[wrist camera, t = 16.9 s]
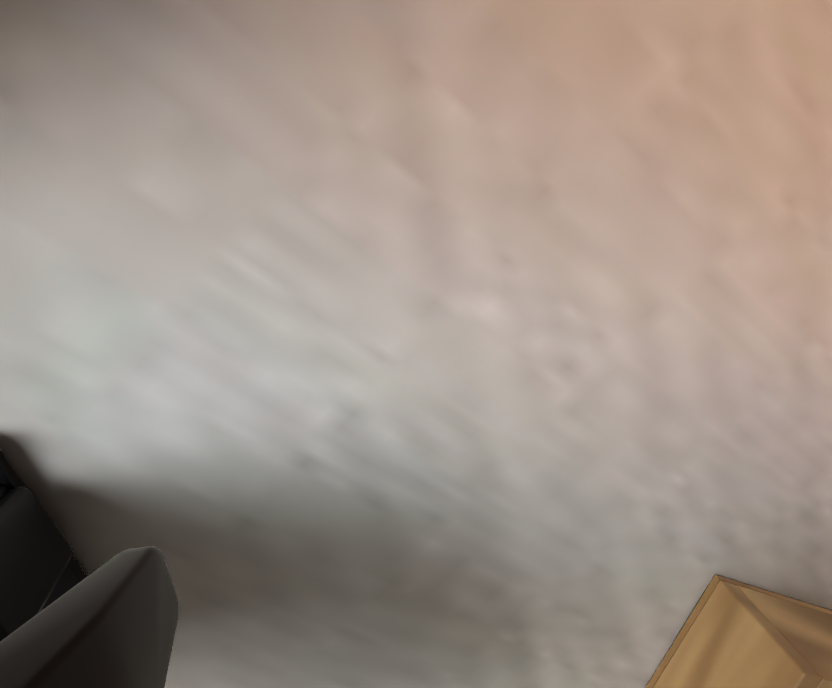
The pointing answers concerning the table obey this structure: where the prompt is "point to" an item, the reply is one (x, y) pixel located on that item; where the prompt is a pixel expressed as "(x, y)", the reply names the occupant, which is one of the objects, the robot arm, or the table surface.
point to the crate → (749, 642)
